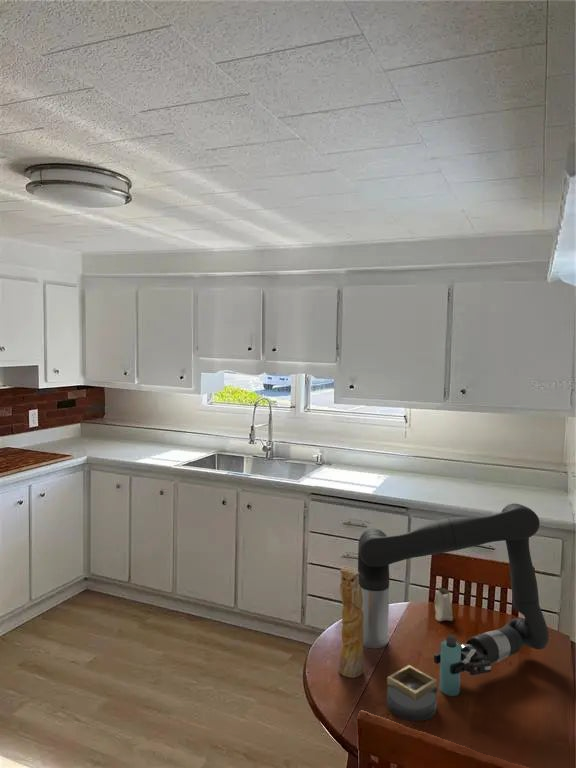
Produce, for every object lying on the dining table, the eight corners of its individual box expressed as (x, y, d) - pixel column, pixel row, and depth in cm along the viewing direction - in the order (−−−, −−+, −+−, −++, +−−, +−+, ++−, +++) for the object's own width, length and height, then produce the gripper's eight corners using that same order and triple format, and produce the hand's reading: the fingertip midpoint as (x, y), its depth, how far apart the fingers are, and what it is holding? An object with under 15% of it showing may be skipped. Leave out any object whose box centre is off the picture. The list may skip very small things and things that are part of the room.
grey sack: (453, 628, 186) (466, 601, 185) (433, 622, 185) (446, 594, 184) (441, 612, 195) (454, 586, 194) (422, 606, 193) (435, 580, 192)
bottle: (435, 689, 150) (437, 636, 149) (446, 682, 153) (448, 630, 152) (452, 698, 146) (454, 644, 145) (463, 690, 149) (465, 638, 148)
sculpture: (333, 681, 152) (336, 570, 150) (341, 663, 161) (344, 558, 159) (358, 686, 150) (361, 574, 148) (365, 667, 159) (368, 561, 157)
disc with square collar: (376, 702, 144) (377, 676, 143) (407, 684, 151) (407, 659, 151) (416, 727, 135) (416, 699, 134) (446, 707, 142) (447, 680, 142)
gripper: (468, 623, 162) (423, 638, 153) (511, 646, 150) (465, 664, 141) (467, 649, 163) (422, 665, 154) (510, 674, 150) (463, 693, 142)
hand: (443, 664), depth 148 cm, fingers closed on bottle, 5 cm apart
